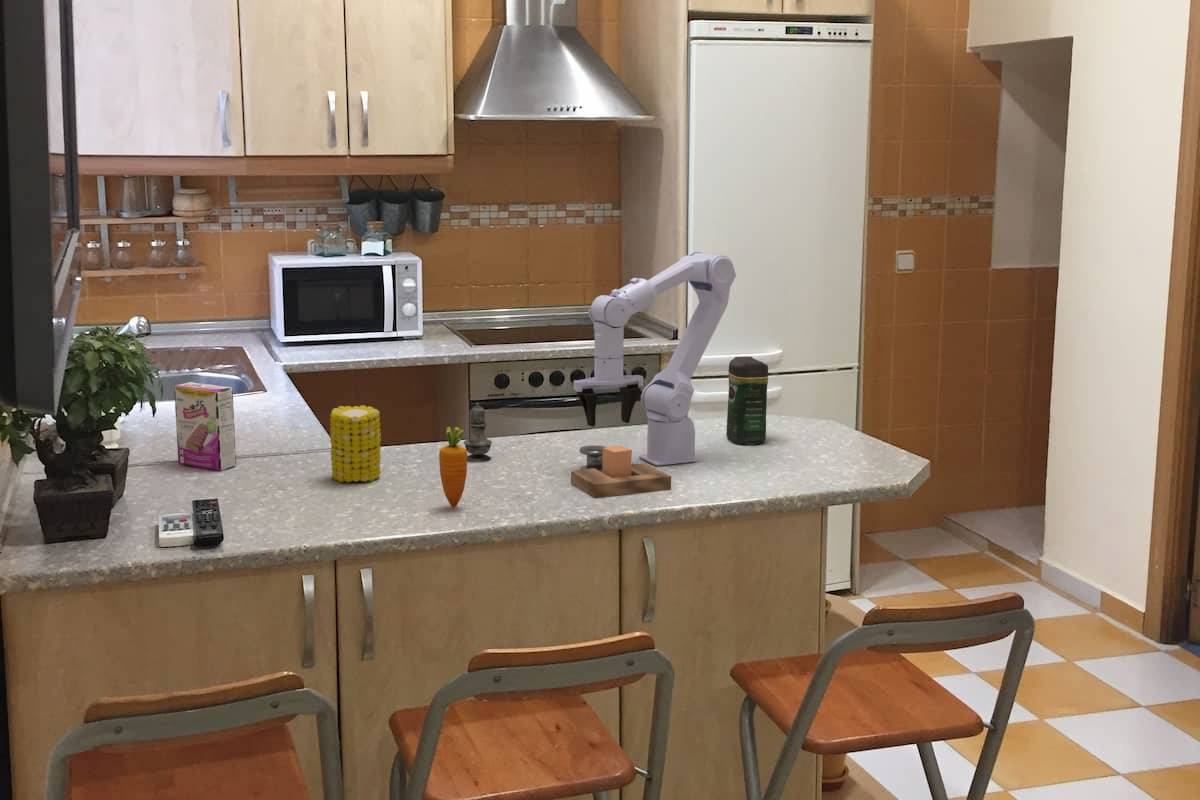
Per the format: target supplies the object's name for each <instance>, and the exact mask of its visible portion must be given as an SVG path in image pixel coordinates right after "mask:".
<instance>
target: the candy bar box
mask: <svg viewBox="0 0 1200 800" xmlns="http://www.w3.org/2000/svg"><path fill="white" fill-rule="evenodd" d="M173 392H174V408H175V409H174V410H175V424H176V428H175V429H176V441H177V461H178V462H177V464H178V465H179V466H186V467H191V468H199V469H204V470H205V469H206V470H210V471H211V470H212V471H218V472H223V471H226V470H229V469H231V468H234V467H237V456H236V455H237V453H236V452H237V451H236V441H235V440H236V434H235V412H234V390H233V386H232V387H231V386H225V385H217V384H210V383H209V384H208V383H203V382H202V383H201V382H195V381H188V382H184V383H180V384H179V383H178V384H175V385H174V386H173Z"/></svg>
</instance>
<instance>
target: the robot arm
mask: <svg viewBox="0 0 1200 800" xmlns="http://www.w3.org/2000/svg"><path fill="white" fill-rule="evenodd" d="M736 276H737V274H736V270H735V267H734V264H733V261H732V260H731V258H730V257H729V256H727V255H724V254H711V253H704V252H701V251H693V252H691V253H690V254H687V255H683V256H681V258H680V260H679V261H677V262H676V263H674V264H671V266H669V267H667V268H666V269H664V270H663V271H661V272H659V273H658V274H656V275H654V276H653V277H651V278H650V279H645V278H639V277H633V278H632V279H630V280H629V283H628V284H625V285H624V286H622V287H621V288H619V289H617V288H615V289H612V290H611V293H610V294H609V295H605V294H601V295H599V296H597V297H596V298H595V299H594V300H593V301H592V304H591V306H590V309H588V316H589V318H590V320H591V321H592V323H593V330H594V367H593V368H594V369H593V370H594V377H593V376H592V377H588V378H583V379H578V380H573V391H575V393H576V395H577V397H578V399H579V401H580V403H581V405H582V408H583V411H584V414H585V418H586V423H587V424H586V425H587V426H589V427H591V428H593V427H596V419H597V418H596V415H597V414H596V412H597V411H596V410H597V409H596V407H597V401H598V398H599V395H598V394H597V393H595V390H604V389H605V390H606V389H615V388H618V389H619V395H620V403H621V406H620V407H621V409H620V410H621V411H620V415H621V416H620V418H621V422H622V423H624V424H629V423H630V422H631V421H630V420H631V417H632V413H633V410H634V407H635V405H636V402H637V400H638V398H639V397H640V404H641V406H642V408H643V409H644V410H645V411H646V413H645V414H646V417H647V433H646V435H647V437H646V439H647V443H646V445H647V447H646V454H639V456H638V457H639V458H640V459H642V460H644V461H645V462H648V463H649V464H651V465H654V466H656V467H657V466H667V465H677V464H685V463H692V462H693V463H695V462H697V459H696V458H695V457H696V456H695V451H696V450H695V449H696V448H695V447H696V429H695V423H694V421H693V419H692V418H690V416H687V415H688V413H689V411H690V409H691V403H692V397H693V395H694V394H695V390H694V389H695V388H694V387H693V385H692V382H691V380H692V377H693V375H694V373H695V371H696V369H697V367H698V365H699V363H700V362H701V359H702V357H703V355H704V353H705V351H706V349H707V347H708V345H709V343H710V342H711V339H712V337H713V335H714V333H715V332H716V329H717V327H718V325H719V323H720V321H721V319H722V317H723V315H724V313H725V311H726V309H727V307H728V304H729V298H730V293H731V287H732V285H733V283H734V281H735V279H736ZM685 282H688V283H689V285H690V286H691V288H692V289H693V291H694V292H695V294H696V295H697V299H698V304H697V306H696V308H695V310H694V313H693V314H692V315H691V317H690V320H689V322H688V324H687V325H686V328H685V330H684V332H683V334H682V336H681V338H680V340H679V342H678V344H677V346H676V348H675V350H674V352H673V354H672V356H671V357H670V360H669V362H668V364H667V366H666V368H665V369H663V370H661V371H660V372H658V373H656V374H655V375H654V376H653V379H652V380H651V381H650V383H649V384H647V385H646V386H645V387H644V388H643V390H642V389H641V387H643V386H644V376H643V375H640V374H635V375H634V374H633V375H631V374H629V375H627V374H626V375H624V335H625V334H624V331H625V329H624V327H625V325H626V324H627V322H629V319H630V317H631V316H633V315H635V314H637V313H639V312H640V311H642V310H644V309H646V308H647V307H649V306H651V305H653V304H654V303H655V300H656V297H657V295H660V294H661V293H663V292H665V291H668V290H670V289H672V288H675V287H676V286H679V285H681V284H682V283H685Z"/></svg>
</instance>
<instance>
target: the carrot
mask: <svg viewBox="0 0 1200 800" xmlns="http://www.w3.org/2000/svg"><path fill="white" fill-rule="evenodd" d="M463 433H464V429H460V428H459V427H454V429H453V431H452V429H451V427H450V426H448V427H446V434H445V435H446V438H447V441H448V442H447V443H448V445H444V446H443V447H441V448H440V450H439V452H438V456H439V457H438V459H439V474H440V479H441V484H442V485H441V486H442V489H443V492H444V495H445V497H446V500H447V502H448V503H449V505H450V506H451V507H452V508H453V509H454V508H456V507H457V506H458V504H459V503H460V500H461V498H462V495H463V493H464V490H465V485H466V479H467V476H468V475H467V471H468V461H467V456H468V451H467V450H466V448H465V446H462V445H461V444H459V442H460V441H461V440H462V438H459V437H460V436H461V434H463Z"/></svg>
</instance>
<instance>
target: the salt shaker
mask: <svg viewBox="0 0 1200 800" xmlns="http://www.w3.org/2000/svg"><path fill="white" fill-rule="evenodd" d="M485 412H486V411H485V408H484V407H483V406H480V403H479V402H478V401H477V402H476V403H475V406H472V407H471V409H470V422H469V423H468V425H469V426H470V427H469V428H470V429H469V430H470V431H469V432H470V435H469V438H468V439H466V440H464V441H463V444H464V448H465V449H466V450H467V453H468V454H469V455H467V462H472V463H483V462H484V461H485V462H489V461H490V460H492V459H491V458H492V457H491V456H489V455H488V452H489V451H490V449H491V445H492V444H493V441H492V440H491V439H489V438H487V436H486V426H487V422H486V420H485V419H486V417H485V415H486V413H485Z"/></svg>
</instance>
